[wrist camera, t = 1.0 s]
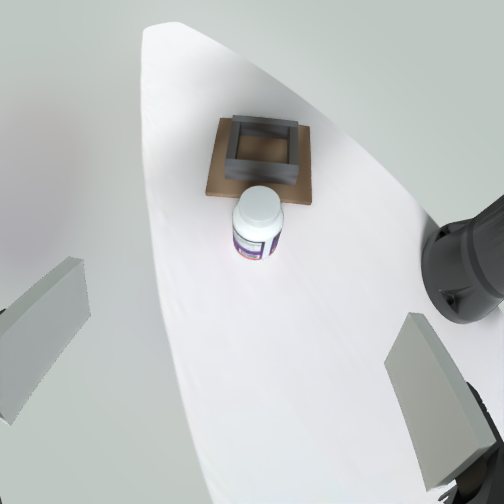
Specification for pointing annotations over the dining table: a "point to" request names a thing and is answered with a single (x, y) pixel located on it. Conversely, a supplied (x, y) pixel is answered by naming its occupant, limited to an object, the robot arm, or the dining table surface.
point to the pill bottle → (257, 223)
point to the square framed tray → (261, 158)
